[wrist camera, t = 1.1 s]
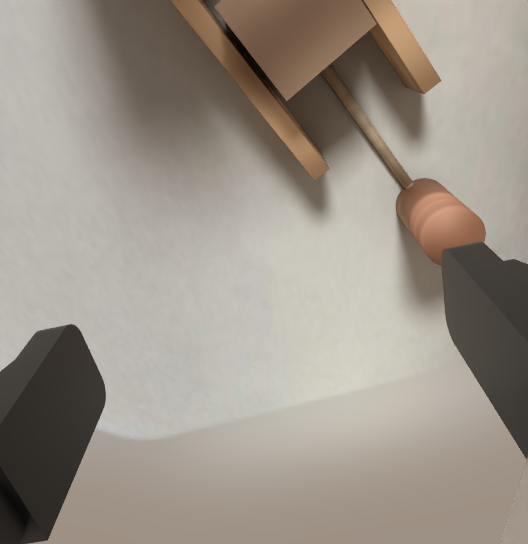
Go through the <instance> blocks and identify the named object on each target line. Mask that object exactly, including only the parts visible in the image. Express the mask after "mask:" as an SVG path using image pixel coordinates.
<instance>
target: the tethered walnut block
mask: <svg viewBox="0 0 528 544" xmlns="http://www.w3.org/2000/svg"><path fill="white" fill-rule="evenodd" d="M214 8H215V9H216V10H217V11H218V13H219V14H220V15H221V17H222V18H223V19H224V21H225V22H226V23H227V24H228V26H229V27H230V28H231V30H232V31H233V32H234V34H235V35H236V36H237V37H238V39H239V40H240V41H241V43H242V44H243V45H244V47H245V48H246V49H247V50H248V52H249V53H250V54H251V56H252V57H253V58H254V60H255V61H256V62H257V63H258V65H259V66H260V67H261V69H262V70H263V71H264V72H265V74H266V75H267V76H268V78H269V79H270V80H271V82H272V83H273V84H274V85H275V87H276V88H277V89H278V91H279V92H280V93H281V95H282V96H283V97H284V98H285V100H286V101H288V100H289V99H290V98H291V97H292V96H294V95H295V94H296V93H297V92H298V91H299V90H300V89H302V88H303V87H304V86H305V85H306V84H307V83H309V82H310V81H311V80H312V79H313V78H314V77H316V76H317V75H318V74H319V73H320V72H321V73H322V75H323V76H324V77H325V79H326V80H327V82H328V83H329V84H330V86H331V87H332V88H333V90H334V91H335V93H336V94H337V95H338V97H339V98H340V100H341V101H342V102H343V104H344V105H345V106H346V108H347V109H348V111H349V112H350V113H351V115H352V116H353V118H354V119H355V120H356V122H357V123H358V124H359V126H360V127H361V129H362V130H363V131H364V133H365V134H366V136H367V137H368V138H369V140H370V141H371V142H372V144H373V145H374V147H375V148H376V149H377V151H378V152H379V154H380V155H381V156H382V158H383V159H384V160H385V162H386V163H387V165H388V166H389V167H390V169H391V170H392V172H393V173H394V174H395V176H396V177H397V178H398V180H399V181H400V183H401V184H402V185H403V187H404V188H403V189H402V190H401V192H400V193H399V195H398V198H397V201H396V211H397V214H398V216H399V218H400V219H401V221H402V222H403V223H404V225H405V226H406V227H407V229H408V230H409V231H410V233H411V234H412V235H413V237H414V238H415V239H416V241H417V242H418V244H419V245H420V246H421V248H422V249H423V250H424V252H425V253H426V254H427V256H428V257H429V258H430V259H431V260H432V261H433V262H435V263H437V264H439V265H442V263H441V256H442V251H443V250H444V249H447V248H451V247H456V246H461V245H466V244H471V243H476V242H483V243H484V241H485V235H486V232H485V226H484V224H483V222H482V220H481V219H480V218H479V217H478V216H477V215H476V214H475V213H474V212H472V211H471V210H470V209H469V208H468V207H467V206H465V205H464V204H463V203H462V202H461V201H460V200H458V199H457V198H456V197H455V196H454V195H453V194H451V193H450V192H449V191H448V190H447V189H445V188H444V187H443V186H442V185H441V184H440V183H438V182H437V181H435V180H432V179H427V178H423V179H417V180H414V181H412V180H411V179H410V177H409V176H408V175H407V173H406V172H405V170H404V169H403V168H402V166H401V165H400V163H399V162H398V161H397V159H396V158H395V156H394V155H393V154H392V152H391V151H390V149H389V148H388V147H387V145H386V144H385V142H384V141H383V139H382V138H381V137H380V135H379V134H378V132H377V131H376V130H375V128H374V127H373V125H372V124H371V123H370V121H369V120H368V118H367V117H366V116H365V114H364V113H363V111H362V110H361V109H360V107H359V106H358V104H357V103H356V102H355V100H354V99H353V97H352V96H351V94H350V93H349V92H348V90H347V89H346V87H345V86H344V85H343V83H342V82H341V80H340V79H339V78H338V76H337V75H336V73H335V72H334V71H333V69H332V68H331V66H330V64H331V63H332V62H333V61H334V60H335V59H337V58H338V57H339V56H340V55H341V54H342V53H344V52H345V51H346V50H347V49H348V48H349V47H351V46H352V45H353V44H354V43H355V42H356V41H357V40H359V39H360V38H361V37H362V36H363V35H364V34H366V33H367V32H368V31H369V30H370V29H371V28H373V27H374V26H375V25H376V24H377V23H376V22H375V20H374V19H373V17H372V16H371V14H370V13H369V11H368V10H367V8H366V6H365V5H364V3H363V2H362V0H220V1H219V2H218V3H217V4H216V5H215V6H214Z"/></svg>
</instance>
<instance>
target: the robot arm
mask: <svg viewBox="0 0 528 544" xmlns="http://www.w3.org/2000/svg"><path fill="white" fill-rule="evenodd" d="M441 263H442V276H443V290H444V303H445V315H446V321H447V326H448V329H449V333H450V335H451V338H452V340H453V342H454V344H455V346H456V347H457V349H458V350H459V352H460V354H461V355H462V357H463V358H464V360H465V362H466V363H467V365H468V366H469V368H470V369H471V371H472V372H473V374H474V376H475V378H476V379H477V381H478V382H479V384H480V386H481V387H482V389H483V390H484V392H485V394H486V395H487V397H488V398H489V400H490V402H491V403H492V405H493V406H494V408H495V410H496V411H497V413H498V414H499V416H500V418H501V419H502V421H503V422H504V424H505V426H506V427H507V429H508V430H509V432H510V434H511V435H512V437H513V438H514V440H515V441H516V443H517V445H518V446H519V448H520V450H521V451H522V453H523V454H524V456H525V457H526V459H527V461H526V465H525V467H524V471H523V474H522V477H521V480H520V483H519V486H518V489H517V493H516V496H515V499H514V502H513V505H512V508H511V511H510V515H509V518H508V521H507V524H506V527H505V530H504V534H503V537H502V540H501V543H500V544H528V264H526V263H523V262H520V261H518V260H515V259H512V260H507V261H503V260H502V259H501V258H499V257H498V256H497V255H496V254H495V253H494V252H493V251H492V250H491V249H490V248H489V247H488V246H487V245H486V244H484V243H483V242H476V243H471V244H466V245H461V246H456V247H451V248H447V249H444V250H443V251H442V256H441ZM105 400H106V392H105V385H104V381H103V379H102V376H101V374H100V372H99V370H98V368H97V366H96V363H95V361H94V359H93V357H92V355H91V353H90V350H89V348H88V346H87V344H86V342H85V340H84V338H83V335H82V333H81V332H80V330H79V329H78V328H77V327H76V326H75V325H72V324H70V325H65V326H60V327H55V328H50V329H45V330H41V331H38V332H36V333H35V334H34V336H33V337H32V338H31V339H30V341H29V342H28V343H27V345H26V346H25V347H24V349H23V350H22V351H21V353H20V354H19V355H18V357H17V358H16V359H15V360H14V361H13V362H12V363H10V364H9V365H8V366H7V367H6V368H4V369H3V370H2V371H1V372H0V544H27V543H34V542H40V541H46V540H48V538H49V536H50V533H51V531H52V529H53V526H54V524H55V522H56V519H57V517H58V515H59V512H60V510H61V507H62V505H63V503H64V500H65V498H66V496H67V493H68V491H69V489H70V486H71V484H72V481H73V479H74V477H75V475H76V472H77V470H78V467H79V465H80V462H81V460H82V458H83V456H84V453H85V451H86V449H87V446H88V444H89V442H90V439H91V437H92V434H93V432H94V430H95V427H96V425H97V423H98V420H99V418H100V416H101V413H102V411H103V408H104V405H105Z"/></svg>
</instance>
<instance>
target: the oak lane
mask: <svg viewBox="0 0 528 544" xmlns="http://www.w3.org/2000/svg"><path fill="white" fill-rule="evenodd" d="M170 1H171V2H172V3H173V4H174V6H175V7H176V8H177V9H178V11H179V12H180V13H181V14H182V16H183V17H184V18H185V19H186V21H187V22H188V23H189V24H190V26H191V27H192V28H193V29H194V31H195V32H196V33H197V34H198V36H199V37H200V38H201V39H202V41H203V42H204V43H205V44H206V46H207V47H208V48H209V49H210V51H211V52H212V53H213V54H214V56H215V57H216V58H217V59H218V61H219V62H220V63H221V64H222V66H223V67H224V68H225V69H226V71H227V72H228V73H229V74H230V76H231V77H232V78H233V79H234V81H235V82H236V83H237V84H238V86H239V87H240V88H241V89H242V91H243V92H244V93H245V94H246V96H247V97H248V98H249V99H250V101H251V102H252V103H253V104H254V106H255V107H256V108H257V109H258V111H259V112H260V113H261V114H262V115H263V117H264V118H265V119H266V120H267V122H268V123H269V124H270V125H271V127H272V128H273V129H274V130H275V132H276V133H277V134H278V135H279V137H280V138H281V139H282V140H283V142H284V143H285V144H286V145H287V147H288V148H289V149H290V150H291V152H292V153H293V154H294V155H295V157H296V158H297V159H298V160H299V162H300V163H301V164H302V165H303V167H304V168H305V169H306V170H307V172H308V173H309V174H310V175H311V177H312V178H313V179H314V180H316V179H317V178H318V177H319V176H321V175H322V174H323V173H325V172H326V171H327V170H328V169H329V167H328V165H327V163H326V161H325V159H324V157H323V155H322V154H321V152H320V151H319V150H318V148H317V147H316V146H315V145H314V143H313V142H312V141H311V139H310V138H309V137H308V136H307V134H306V133H305V132H304V130H303V129H302V128H301V127H300V125H299V124H298V123H297V121H296V120H295V119H294V118H293V116H292V115H291V114H290V112H289V111H288V110H287V108H286V107H285V106H284V105H283V103H282V102H281V101H280V99H279V98H278V97H277V96H276V94H275V93H274V92H273V90H272V89H271V88H270V87H269V85H268V84H267V83H266V81H265V80H264V79H263V78H262V76H261V75H260V74H259V72H258V71H257V70H256V68H255V67H254V66H253V65H252V63H251V62H250V61H249V59H248V58H247V57H246V56H245V54H244V53H243V52H242V50H241V49H240V48H239V47H238V45H237V44H236V43H235V41H234V40H233V39H232V38H231V36H230V35H229V34H228V32H227V31H226V30H225V28H224V27H223V26H222V25H221V23H220V22H219V21H218V19H217V18H216V17H215V16H214V14H213V13H212V12H211V10H210V9H209V8H208V7H207V5H206V4H205V3H204V1H203V0H170ZM362 2H363V3H364V5H365V6H366V8H367V10H368V11H369V13H370V14H371V16H372V17H373V19H374V20H375V22H376V23H377V24H376V25H375V26H374V27H373V28H371V29H370V30H369V32H370V33H371V35H372V36H373V38H374V39H375V41H376V42H377V44H378V45H379V47H380V48H381V50H382V51H383V53H384V54H385V56H386V57H387V59H388V60H389V62H390V63H391V65H392V66H393V68H394V70H395V71H396V73H397V74H398V76H399V77H400V79H401V80H402V82H403V83H404V85H405V86H406V87H407V88H409V89H412V90H415V91H417V92H420V93H423V94H425V93H426V92H428V91H429V90H430V89H432V88H433V87H434V86H435V85H437V84H438V83H439V82H440V81H441V79H440V77H439V76H438V74H437V73H436V71H435V69H434V68H433V66H432V65H431V63H430V61H429V60H428V58H427V57H426V55H425V54H424V52H423V50H422V49H421V47H420V46H419V44H418V42H417V41H416V39H415V38H414V36H413V34H412V33H411V31H410V30H409V28H408V26H407V25H406V23H405V22H404V20H403V18H402V17H401V15H400V14H399V12H398V10H397V9H396V7H395V6H394V4H393V2H392V1H391V0H362Z"/></svg>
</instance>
